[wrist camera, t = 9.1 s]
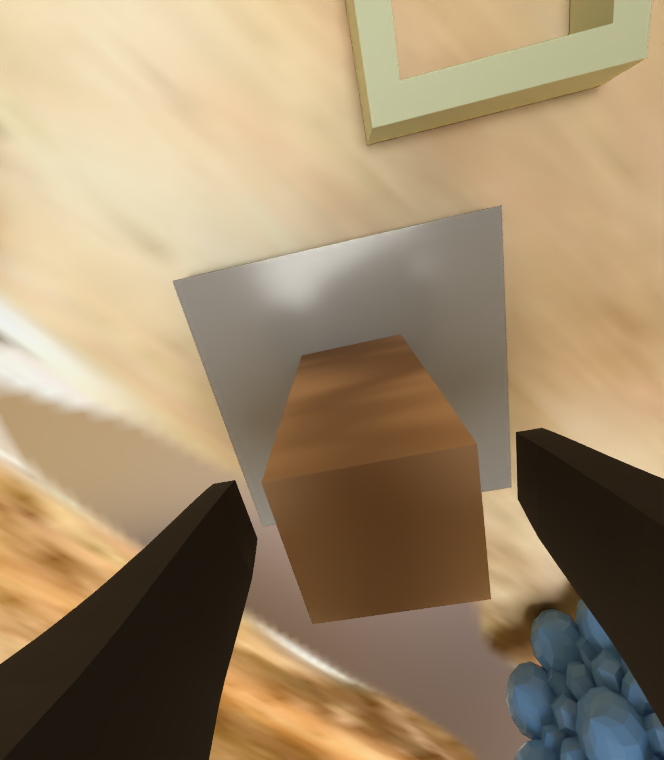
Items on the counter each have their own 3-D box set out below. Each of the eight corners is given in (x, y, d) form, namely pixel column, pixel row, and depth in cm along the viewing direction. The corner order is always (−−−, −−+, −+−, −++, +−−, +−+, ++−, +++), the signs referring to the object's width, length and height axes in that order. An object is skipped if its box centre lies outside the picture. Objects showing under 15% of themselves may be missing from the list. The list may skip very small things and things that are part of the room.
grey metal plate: (484, 209, 13) (501, 205, 12) (497, 467, 18) (511, 487, 16) (188, 277, 14) (172, 280, 13) (268, 505, 19) (262, 526, 17)
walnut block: (400, 334, 14) (477, 443, 6) (414, 423, 15) (491, 598, 8) (301, 355, 14) (261, 483, 7) (324, 440, 15) (312, 623, 8)
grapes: (511, 684, 24) (662, 1068, 13) (446, 638, 22) (555, 1032, 11) (672, 598, 21) (1060, 1011, 10) (610, 538, 19) (991, 949, 8)
